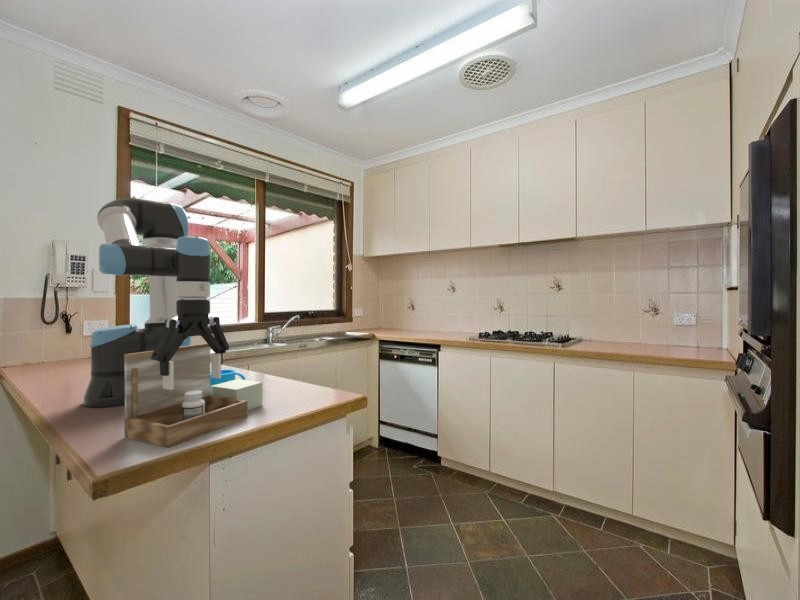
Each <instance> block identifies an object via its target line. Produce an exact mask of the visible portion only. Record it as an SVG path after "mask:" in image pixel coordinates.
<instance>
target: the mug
mask: <svg viewBox="0 0 800 600" xmlns="http://www.w3.org/2000/svg"><path fill="white" fill-rule="evenodd" d="M236 376H238V377H240V378H241V380H246V377H245V376H244V375H243V374H242V373H240V372H236V370H233V369H221V378H211V371H210V395H211V386H213V385H217V384H220V383H224V382H228V381H232V380H236Z"/></svg>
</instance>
